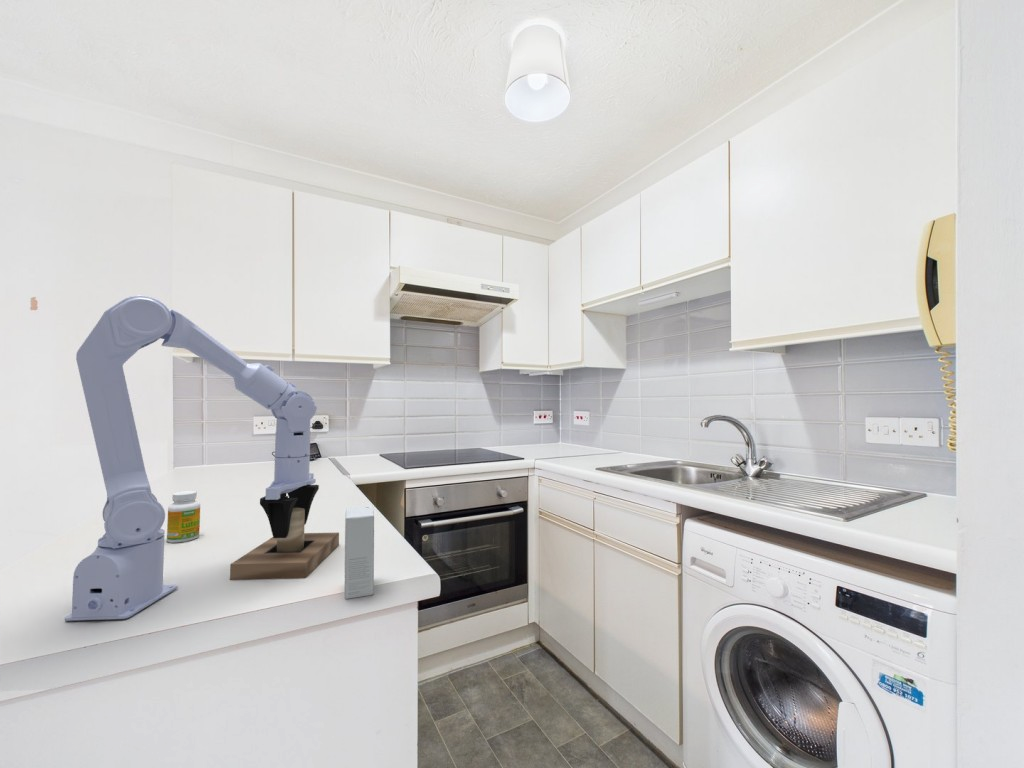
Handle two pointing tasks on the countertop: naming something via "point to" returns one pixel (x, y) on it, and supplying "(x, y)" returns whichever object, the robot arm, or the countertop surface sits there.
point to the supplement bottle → (183, 517)
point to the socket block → (284, 559)
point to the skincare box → (359, 552)
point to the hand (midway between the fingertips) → (290, 530)
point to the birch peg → (293, 533)
